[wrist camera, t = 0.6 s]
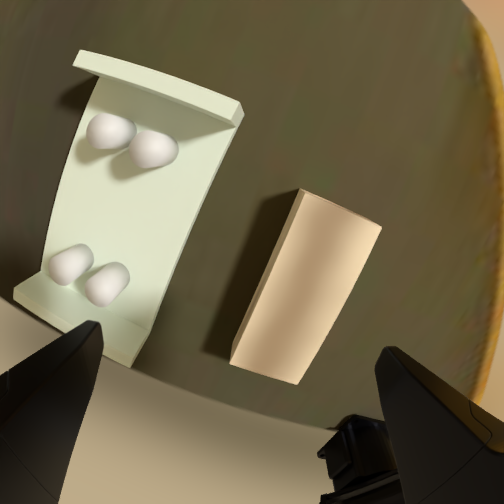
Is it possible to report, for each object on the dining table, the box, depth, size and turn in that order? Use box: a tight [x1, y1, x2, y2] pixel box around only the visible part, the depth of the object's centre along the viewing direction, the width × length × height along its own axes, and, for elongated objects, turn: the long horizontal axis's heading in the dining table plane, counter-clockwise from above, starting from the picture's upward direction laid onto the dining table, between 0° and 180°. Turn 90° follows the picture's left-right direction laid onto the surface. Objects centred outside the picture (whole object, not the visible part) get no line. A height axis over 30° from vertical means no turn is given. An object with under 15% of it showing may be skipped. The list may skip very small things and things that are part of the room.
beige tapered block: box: [229, 189, 382, 385], centre depth 20 cm, size 5×12×3 cm, turn 158°
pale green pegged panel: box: [13, 50, 244, 368], centre depth 18 cm, size 10×17×4 cm, turn 155°
